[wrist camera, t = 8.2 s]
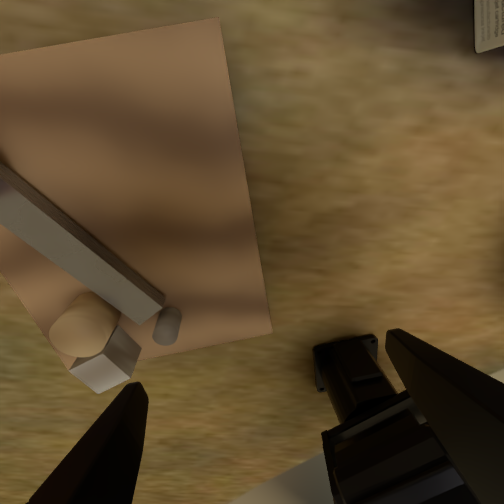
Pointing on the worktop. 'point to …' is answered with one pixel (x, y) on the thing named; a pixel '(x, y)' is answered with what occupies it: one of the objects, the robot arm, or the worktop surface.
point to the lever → (74, 249)
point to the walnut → (84, 326)
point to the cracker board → (137, 186)
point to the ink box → (488, 24)
